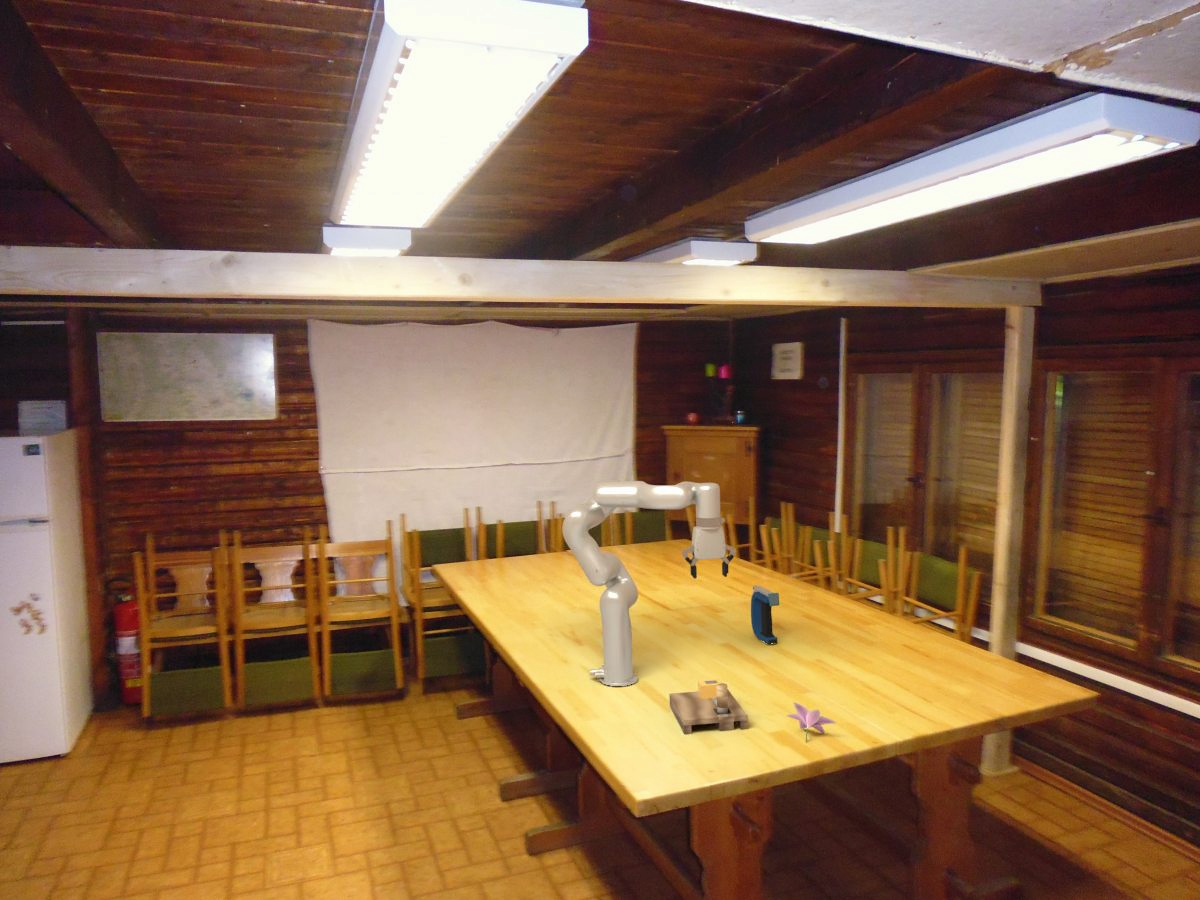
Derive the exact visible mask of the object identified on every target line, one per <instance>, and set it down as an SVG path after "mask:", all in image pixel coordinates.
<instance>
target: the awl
mask: <svg viewBox="0 0 1200 900" xmlns="http://www.w3.org/2000/svg"><path fill="white" fill-rule="evenodd" d="M727 689H728V684H727V683H725V682H724V683H720V684H717V715H721V714H729V713H728V695H727Z"/></svg>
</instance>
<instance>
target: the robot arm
mask: <svg viewBox="0 0 1200 900" xmlns="http://www.w3.org/2000/svg"><path fill="white" fill-rule="evenodd" d="M720 489H721V488H720V485H719V484H718V483H715V482H694V481H681V482H679V483H677V484H675V485H674V484H671V485H670V484H669V485H658V484H657V485H655V484H654V485H653V484H649V483H647V482H645V481H643V480H623V481H622V480H620V479H616V478H609V479H607V480H603V481H601V482H599V483H598V484H597V485H596V486H595V487H594V489H593V496H592V497H591V498H590V499H588V501H587V502H585V503H582V504H580V505H577V506H574V508H572V509H570V511H568V513H567V514H566V515H565V517H564V519H563V523H562V528H561V529H562V536H563V539H564V541H565V543H566V544H567V546H568V548H569V549H570V551H571V552H572V554H573V556H574V558H575V559H576V562H577V563H578V565H579V566H580V568H581V570H582V571H583V573H584V575H585V576H586V578H587V580H588V581H589V583H590V584H591V585H593V586H594V587H595V586H596V587H601V586H602V587H603V586H605V587H606V589H604V591H602V594H601V595H600V598H599V611H600V617H601V626H602V629H601V630H602V646H603V648H602V652H603V653H602V654H603V664H602V666H601V667H599V669H595V668H594V669H589V675H590V676H594V678H599V682H600V681H601V682H602V683H604V684H606V685H605V686H607V685H610V686H609V687H612V686H622V687H627V685H628V686H632V685H635V684H636V683H637V682H638V680H639V677H638V674H637V673H636V672H634V666H633V662H634V661H633V638H632V637H633V636H632V621H631V620H632V619H631V616H630V608H632V607H633V606H634V605H635V603H637V600H638V598H639V590H638V587H637V584H636V582H635V581H634V580H633V578H632V576H631V575H630V573H629V571H628V570H627V568H626V566H625V564H624V563H623V562H622V560H621V559H620V557H618V556H617V555H616V554H614V553H612V552H609V551H606V552H605V551H604V552H603V551H602V549H601V548H600V546H599V545H598V543H597V541H596V540H595V539H594V538H593V536H591V535H590V533H589V530H590V529H593V528H594V527H597V526H599V525H600V524H601V523H603V521H605V520H606V519H607V518H608V517H609V515H611V514H612V513H613V511H615V510H616V509H617V508H642V509H650V510H682V509H685V508H686V507H688V506H691V505H695V520H696V521H695V522H696V523H695V525H696V526H693V529H692V536H691V537H692V539H691V546H689V547H687V548H685V549H683V550H682V551H681V555H682V557H683V559H684V560H685V561H686V562H687V563H688V564H689V565H690V568H689V569H690V576H692V578H693V579H697V572H698V571H697V565H696V564H697V563H698V561H700V560H702V561H703V560H719V559H721V560H722V563H721V572H722V573H721V575H722V576H723V577H725V578H726V577H727V576H728V574H729V564H730V562H731V561H732V560H733V559H734V557H735V555H736V553H737V549H736V547H735V548H734V547H733V546H731V545H729V544H726V539H725V531H724V527H723V526H722V524H723V523H726V518H724V517H722V516H721V490H720ZM727 551H729V554H728V555H727V556H726V554H727ZM690 553H691V556H692V557H691V558H690V557H689V556H688V554H690ZM601 682H600V683H601ZM602 683H601V684H602ZM604 684H603V685H604ZM631 684H632V685H631Z"/></svg>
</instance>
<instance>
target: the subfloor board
mask: <svg viewBox="0 0 1200 900" xmlns="http://www.w3.org/2000/svg"><path fill="white" fill-rule="evenodd" d="M727 695H728V714H721V715H717V698H709V699H702V698H701V697H700V695H699V694H698V690H696V691H687V692H675V693H674V692H673V693H669V707H670V710H671V711H672V713H673V715H674V717H675V719H676V721H677V723H678V725H679V727H680V729H681V730H682V732H683V734H684V735H691V734H692V726H696V725H707V724H714V725H715V726H716V728H717V729H718V731H719V732H726V731H727V732H728V731H734V730H735V729H734V722H735V724H736V725H737V726H738V728H739V730H748V729H749V728H748V725H749V722H748V714H747V713H746V711H745V710H744V708H743V707H742V706H741V705H740V703H739V702H738V700H737V699H736V698H735V697H734V695H733V694H732V693H731V691H730V690H729V689H728V688H727Z"/></svg>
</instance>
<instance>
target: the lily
mask: <svg viewBox="0 0 1200 900" xmlns="http://www.w3.org/2000/svg"><path fill="white" fill-rule="evenodd" d="M793 706H794V708H795V711H796V713H791V714H790V713H789V714H787V715H786V716H787V717H789V718H791V719H793V720H796V721H798V723H799V728H800V729H801V728H802V729H806V730H805V731H806V733H805V743H807V742H808V731H809V728H813V729H815V730H817V731H818V732H820V733H822V734H824V735H825V729H824V727H823V726H824V725H831V724H832V725H835V724H837V722H836V721H835V720H833V719H831V718H829V717H826V716H822V715H821V711H820V710H819V709H813V710H809V709H808V708H807V707H806V706H804V705H802V704H800V703H798V702H795V701H794V702H793Z"/></svg>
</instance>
